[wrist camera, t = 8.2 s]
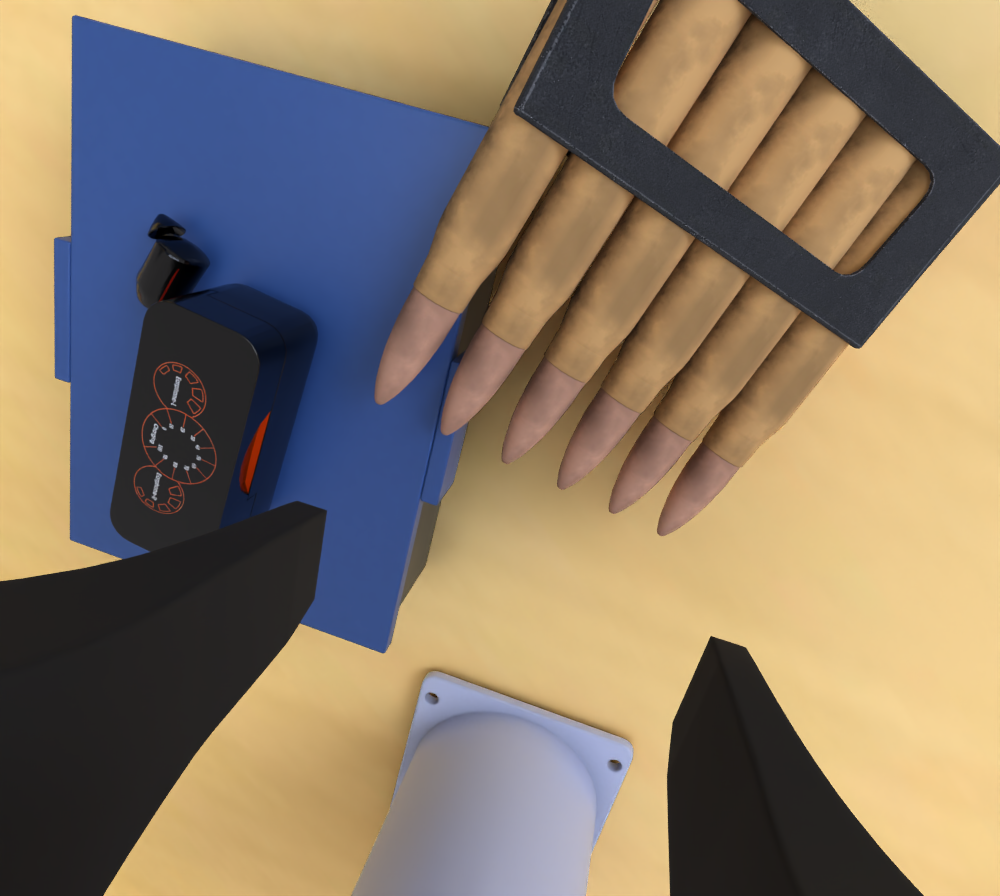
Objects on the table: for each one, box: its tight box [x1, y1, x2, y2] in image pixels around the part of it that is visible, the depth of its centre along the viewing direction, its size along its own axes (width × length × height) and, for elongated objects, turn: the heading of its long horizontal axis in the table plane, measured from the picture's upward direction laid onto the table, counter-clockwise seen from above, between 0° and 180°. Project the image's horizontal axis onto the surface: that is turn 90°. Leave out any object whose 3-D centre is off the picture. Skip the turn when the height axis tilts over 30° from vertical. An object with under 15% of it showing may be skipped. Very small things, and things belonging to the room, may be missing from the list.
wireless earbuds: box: [110, 214, 318, 552], centre depth 18 cm, size 5×7×3 cm, turn 159°
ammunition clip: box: [374, 0, 1000, 536], centre depth 17 cm, size 11×2×12 cm
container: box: [54, 15, 498, 653], centre depth 21 cm, size 15×12×5 cm
